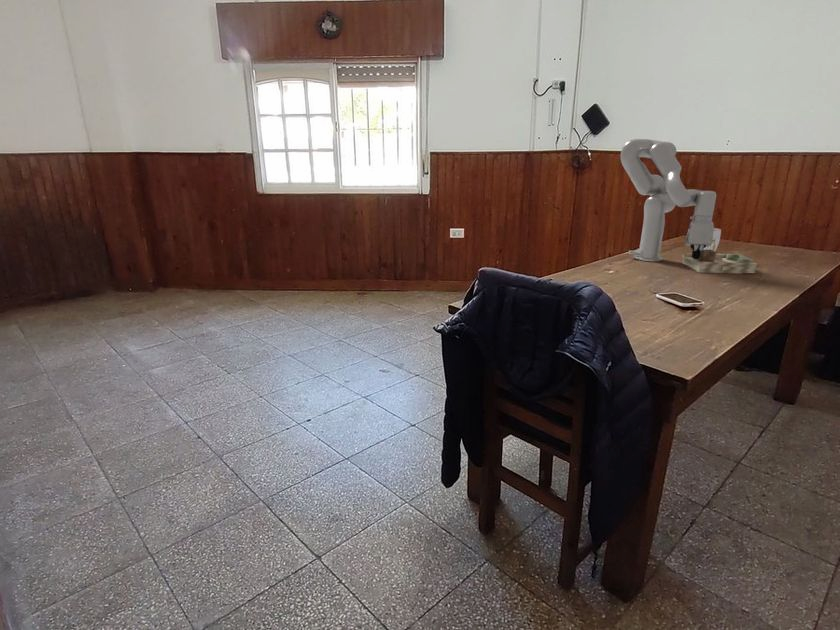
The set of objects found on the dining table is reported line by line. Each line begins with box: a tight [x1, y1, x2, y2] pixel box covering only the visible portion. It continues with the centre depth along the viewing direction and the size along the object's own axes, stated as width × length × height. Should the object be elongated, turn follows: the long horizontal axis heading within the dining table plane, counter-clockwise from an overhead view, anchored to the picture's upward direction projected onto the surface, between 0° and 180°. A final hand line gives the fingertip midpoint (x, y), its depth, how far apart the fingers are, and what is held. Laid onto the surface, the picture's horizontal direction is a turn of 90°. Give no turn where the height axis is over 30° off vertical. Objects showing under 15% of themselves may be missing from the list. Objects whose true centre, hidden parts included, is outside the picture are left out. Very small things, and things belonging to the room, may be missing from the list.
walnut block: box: [698, 249, 717, 262], centre depth 232 cm, size 5×5×5 cm
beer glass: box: [704, 227, 722, 252], centre depth 249 cm, size 7×7×15 cm
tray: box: [681, 252, 758, 274], centre depth 233 cm, size 24×19×6 cm
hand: (695, 258), depth 233 cm, fingers closed
